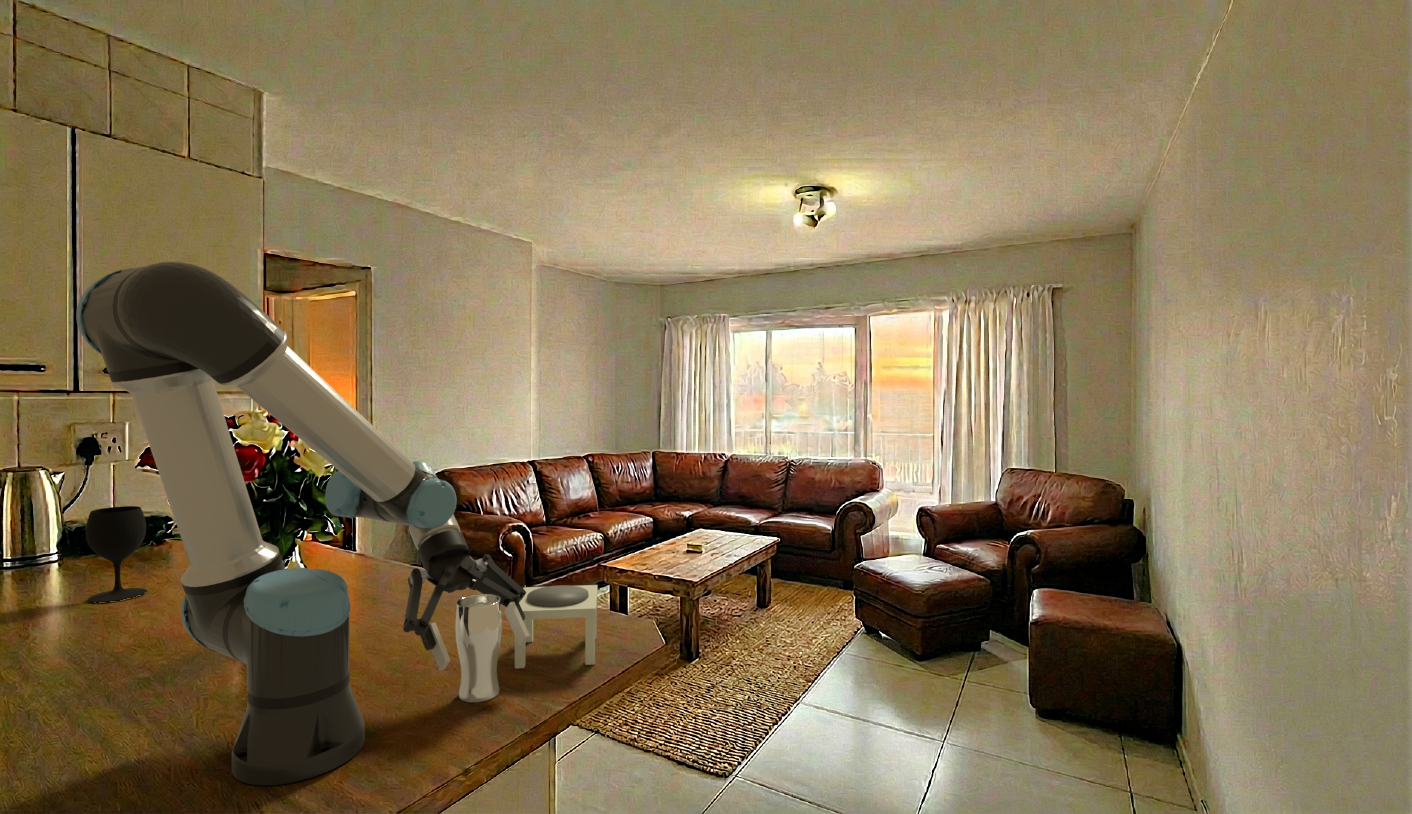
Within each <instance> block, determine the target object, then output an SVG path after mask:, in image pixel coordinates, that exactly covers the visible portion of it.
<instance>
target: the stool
mask: <svg viewBox="0 0 1412 814" xmlns="http://www.w3.org/2000/svg"><path fill="white" fill-rule="evenodd" d="M522 588H523V589H524V590H525V591H526V594H525V596H524V597H523V598H522V600H521V601H520V602H519V604H520V606H521V608H522V611H523V613H524V615H525V619H524V620H523V622H524V624H525V626H526V628H527V630H528V633H529V635H530V636H529V637H528V639H527V640H526V641H525V643H524V644H522V645H519V644H518V641H517V639H516V637H515V636H514V669H525V667H526V643H533V641H534V620H552V619H555V620H556V619H574V618H575V619H576V618H577V619H578V618H585V619H584V621H585V625H584V626H585V628H584V629H585V632H584V633H585V636H584V637H585V642H584V643H585V647H584V648H585V652H584V653H585V654H584V655H585V657H584V661H585V662H584V663H585V665H586V666H588V665H589V666H591V665H595V664H596V663H595V662H596V640H597V603H598V584H590V585H589V584H588V585H586V584H585V585H564V584H563V585H562V584H561V585H551V586H548V585H547V586H535V587H534V586H529V587H528V586H527V587H522Z"/></svg>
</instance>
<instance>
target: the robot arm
mask: <svg viewBox="0 0 1412 814" xmlns="http://www.w3.org/2000/svg"><path fill="white" fill-rule="evenodd" d="M75 312H76V314H75V315H76V316H75V318H76V324H77V327H78V330H79V332H80V334H81V336H82V338H83V339H84V340H85V342H86V344H88V345H89V346H90V347H91V348H92V349H93V350H94V351H96V353H98V354H99V355H101V356H102V359H103V361H104V364H105V367H106V370H107V373H108V375H109V379H110V382H111V385H112V386H116V387H117V388H119V389H121V390H124V391H125V392H128V393H129V394H130V395H132V398H133V401H134V404H135V407H136V410H137V413H138V416H139V419H140V422H141V424H142V425H141V426H142V427H143V431H144V434H145V436H146V439H147V442H148V446H149V449H150V451H151V454H152V457H153V459H154V463H155V466H156V468H157V472H158V475H159V477H160V480H161V483H162V485H163V488H164V492H165V495H166V498H167V500H168V503H169V506H170V509H171V512H172V516H173V518H174V520H175V521H174V522H175V524H176V527H177V529H178V533H179V535H180V539H181V542H182V544H183V548H184V550H185V553H186V556H187V558H188V563H189V565H188V567H187V568H186V570H184V572H183V574H182V575H181V576H180V583H181V586H182V588H183V589H182V590H183V592H184V595H185V596H184V597H182V601H181V607H180V619H181V621H182V625H183V627H184V629H185V631H186V632H187V634H188V635H189V636H190V637H191V638H192V639H193V640H194V641H195V642H196V643H197V644H199V645H201V647H203V648H205V649H206V650H210V651H211V652H216V653H219V654H221V655H223V656H226V657H229V658H231V659H234V660H236V661H238V662H240V663H243V664H245V665H246V693H247V694H246V695H247V696H246V697H247V700H246V702H247V704H246V706H247V707H246V709H245V711H244V715H243V718H242V720H241V723H240V725H239V726H240V727H239V729H238V732H237V735H236V738H235V741H234V744H233V748H232V750H231V755H230V756H231V774H232V775H233V777H234V778H235V779H236V780H237V781H240V782H241V783H244V784H248V785H252V786H253V785H254V786H276V785H277V786H278V785H285V784H290V783H296V782H300V781H305V780H307V779H312V778H314V777H318V776H319V775H323V774H325V773H327V772H329V771H332V770H334V769H337V768H339V767H340V766H341V765H344V764H345V763H347V762H348V761H350V760H351V759H352V758H353V757H354V756H356V755H357V754H358V753H359V752H360V751H361V749H362V748H363V747H364V744H365V741H366V738H365V737H366V730H365V728H366V727H365V726H366V725H365V720H364V718H363V715H362V713H361V710H360V708H359V706H358V702H357V701H356V698H355V695H354V693H353V691H352V688H351V681H350V679H351V678H350V675H351V672H350V669H351V668H350V663H351V662H350V655H351V654H350V652H351V651H350V614H351V613H350V612H351V602H350V596H349V587H348V584H347V582H346V580H345V579H344V578H343V577H342V576H341V575H339V574H338V573H335V572H334V571H330V570H327V569H323V568H314V569H309V567H295V568H286V567H285V566H284V562H283V558H282V555H281V552H280V550H279V547H278V546H276V545H274V544H272V543H270V542H266V541H264V540H263V537H262V534H261V531H260V528H259V524H258V521H257V517H256V514H255V511H254V508H253V505H252V502H251V499H250V495H249V491H248V489H247V486H246V483H245V479H244V475H243V472H242V469H241V465H240V463H239V460H238V456H237V453H236V450H235V447H234V444H233V443H234V442H233V439H232V438H231V434H230V431H229V427H228V425H227V424H228V423H227V421H226V418H225V414H224V411H223V408H222V404H221V401H220V398H219V395H218V392H217V389H216V385H215V382H216V383H217V384H219V385H220V386H235V387H237V388H238V389H239V390H240V391H241V392H243V393H244V394H245V395H246V396H248V397H249V398H250V400H251V399H252V401H254V402H255V403H256V404H257V405H258V406H260V407H261V408H262V409H263V410H265V411H266V412H267V413H268V414H269V415H271V416H272V417H273V418H274V419H275V420H277V421H278V422H279V423H280V424H281V425H283V426H284V427H285V428H286V429H287V430H289V431H290V432H291V433H293V435H295V436H296V437H298V438H299V439H300V440H301V441H302V442H303V443H304V444H305V445H307V446H308V447H309V448H311V449H312V450H313V451H314V452H315V453H316V454H318V455H319V456H321V458H322V459H324V460H325V461H327V462H328V463H329V464H330V465H331V466H332V467H334V468H335V469H336V470H337V471H336V472H335V473H333V475H331V476H330V478H329V480H328V482H327V485H326V487H325V488H326V489H325V494H324V499H325V506H326V508H327V510H328V511H329V513H330V514H332V516H335V517H342V518H349V519H353V518H362V519H363V518H364V519H372V520H376V521H382V522H387V523H393V524H398V525H404V526H406V527H407V530H408V532H409V534H410V537H411V539H412V541H413V544H414V547H415V548H416V550H417V554H418V556H419V559H420V561H421V564H422V566H423V568H424V570H421V569H420V568H416V567H415V568H413V569H412V570H411V572H410V574H409V576H408V578H407V582H408V586H409V587H408V588H409V593H408V598H407V604H406V605H407V606H406V609H405V614H404V621H403V626H402V630H403V632H405V633H410V632H414V634H415V635H416V636H420V639H421V642H422V644H423V646H424V649H425V650H426V651H431V652H432V655H433V657H434V659H435V663H436V664H437V668H438V670H439V672H440V671H441V672H442V671H444V670H446V668H447V666H448V665H449V663H450V662H451V661H452V660H451V658H450V655H449V652H448V651H447V648H446V645H445V643H444V640H443V638H442V635H441V633H440V630H439V628H438V626H437V622H436V621H434V622H432V623H430V622H431V619H432V617H433V614H434V612H435V611H436V608H437V606H438V604H439V601H440V599H441V597H442V594H443V592H446V593H448V594H450V593H451V594H452V593H454V592H456V591H464V590H466V589H467V588H469V589H470V590H471V591H478V592H479V593H480V594H493V595H497V596H499V597H500V603H501V606H504V607H505V609H504V610H503V613H504V615H505V617H506V619H507V621H508V624H509V626H510V628H511V630H512V633H513V635H514V638H515V637H516V639H517V641H518V644H519V645H522V644H524V643H525V644H526V642H525V641H526V640H527V639H528V637H529V636H530V635H529V633H528V630H527V628H526V626H525V624H524V622H523V620H524V619H525V615H524V613H523V611H522V608H521V606H520V604H519V602H520V601H521V600H522V598H523V597H524V596H525V594H526V591H525V590H524V589H523V588H524V587H522V586H521V585H520V584H518V583H517V582H516V581H515V580H514V579H513V578H512V577H510V575H508V574H507V573H506V572H505V571H503V570H502V569H501V567H499V566H498V565H497V564H496V563H495V561H494V560H493V558H492V557H491V555H490V554H488V553H486V554H484V555H483V557H482V558H479V559H474V558H473V557H472V556H471V553H470V549H469V546H468V543H467V542H466V539H465V536H464V535H463V533H462V532H461V528H460V527H461V526H459V523H458V521H457V519H456V517H455V512H456V511H455V510H456V507H457V503H458V502H457V500H458V499H457V495H456V490H455V489H454V487H453V486H452V485H451V484H450V483H449V482H447V481H446V480H443V479H440V478H438V476H437V475H436V473H435V471H434V469H433V468H432V466H431V465H430V464H428V463H427V462H424V461H417V460H415V461H413V462H412V461H411V459H409V458H408V457H407V456H406V455H405V454H404V453H403V452H402V451H400V449H399V448H398V447H396V446H395V445H394V444H393V443H392V442H391V441H390V440H389V439H388V438H387V437H386V436H384V434H383V433H381V431H379V430H378V429H377V428H376V427H375V426H374V425H373V424H372V423H371V422H370V421H369V420H368V419H366V417H364V416H363V415H362V413H360V412H359V411H358V410H357V409H356V408H355V407H354V406H352V405H351V403H350V402H348V401H347V399H345V398H344V397H343V396H342V395H341V394H340V393H338V391H336V390H335V389H334V387H332V386H331V385H330V384H329V383H328V382H327V381H326V380H325V379H324V378H323V377H322V376H321V375H320V374H318V373H317V371H315V370H314V369H313V368H312V367H311V366H310V365H309V364H308V363H307V362H306V361H305V360H303V359H302V357H300V355H298V354H297V353H296V352H295V351H294V350H293V349H292V348H291V347H289V346H288V345H287V341H288V340H287V338H288V336H287V332H286V331H285V330H284V329H283V328H282V327H280V325H279V324H277V323H276V322H275V321H274V320H273V318H271V317H270V316H269V315H268V314H267V313H266V312H265V311H264V310H262V308H260V307H259V306H258V305H257V304H256V303H255V302H253V301H252V300H251V299H250V298H249V297H248V296H247V295H245V293H243V292H242V291H240V290H239V289H238V288H237V287H236V286H235V285H233V284H232V283H230V282H229V281H228V280H226V279H225V278H223V277H222V276H221V275H218V274H216V273H214V272H212V271H211V270H209V269H206V268H205V267H201V266H198V265H195V264H192V263H187V262H181V261H163V262H156V263H151V264H149V265H146V266H138V267H129V268H125V269H119V270H116V271H115V270H114V271H113V272H110V273H107V274H106V275H104V276H103V277H100V278H99V279H97V280H96V281H95V282H92V284H90V285H89V286H88V287H87V288H86V289H85V291H84V292H83V293H82V294H81V296H80V298H79V301H78V303H77V307H76V311H75ZM214 381H215V382H214ZM364 497H365V499H366V501H365V500H364ZM364 502H365V503H364ZM477 569H478V570H477ZM474 579H475V581H473V580H474ZM425 580H426V581H427V582H430V583H431V584H432V585H433V586H434V588H433V591H432V593H431V596H430V598H429V600H428V603H427V604H426V607H425V608H424V611H423V613H422V615H421V618H418V613H419V606H420V601H421V595H422V587H423V584H424V583H425V582H426V581H425Z"/></svg>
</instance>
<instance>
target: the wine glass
mask: <svg viewBox="0 0 1412 814" xmlns="http://www.w3.org/2000/svg"><path fill="white" fill-rule="evenodd" d="M146 531H147V523H146V518H145V514H144V512H143V509H142V508H141V506H137V505H134V506H133V505H128V506H127V505H126V506H124V505H123V506H122V505H121V506H113V507H112V506H111V507H104V508H98V509H93V510H91V511H90V512H89V514H88V517H87V520H86V525H85V537H86V543H87V545H88V546H89V548H90V549H91V550H92V552H94V553H95V554H96V555H98V556H99V557H101V558H103V559H104V560H108V561H110V562H111V563H112V565H113V569H114V587H113V589H112V590H107V591H104V592H99V593H97V594H96V593H95V594H94V595H91V596H90V597H88V599H87V602H88V601H90V602H96V603H99V602H110V601H120V600H123V599H127V598H133V597H136V596H138V595H143V594H144V593H145V592H147V593H148V590H147V589H145V588H141V587H127V588H123V585H122V581H121V579H122V578H121V571H122V570H121V568H122V562H123V561H124V560H125V559H126V558H128V557H129V556H131V555H132V554H133V553H134V552H136V550H138V548H139V547H141V545H142V543H143V542H144V539H145V537H146V533H147V532H146ZM143 596H144V595H143ZM90 602H89V603H90ZM120 602H121V601H120ZM96 603H95V604H96Z"/></svg>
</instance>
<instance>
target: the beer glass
mask: <svg viewBox="0 0 1412 814" xmlns="http://www.w3.org/2000/svg"><path fill="white" fill-rule="evenodd" d="M502 614H503V613H502V604H501V603H500V597H499V596H497V595H493V594H483V593H480V594H479V593H477V594H470V595H467V596H464V597H460V598H459V599H457V601H456V611H455V642H456V647H457V652H458V658H459V665H460V671H461V673H460V674H461V675H460V676H461V677H460V678H461V679H460V686H459V691H458V692H459V693H458V697H459V699H460V700H461V701H462V702H466V703H473V702H474V703H482V702H486V701H489V700H492V699H494V698H496V697H497V696H498V695H499V693H500V685H499V684H500V683H499V681H498V680H499V679H498V674H497V673H498V671H497V668H498V667H497V666H498V659H499V653H500V648H501V640H502V634H503V633H502V632H503V628H502V627H503V620H502V619H503V617H502V616H503V615H502Z"/></svg>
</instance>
